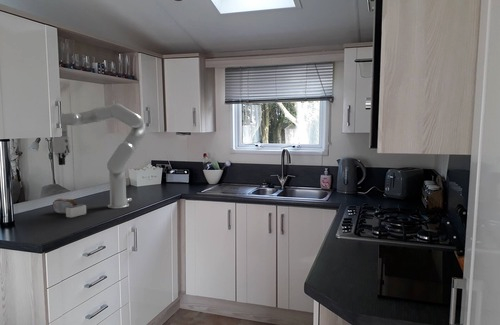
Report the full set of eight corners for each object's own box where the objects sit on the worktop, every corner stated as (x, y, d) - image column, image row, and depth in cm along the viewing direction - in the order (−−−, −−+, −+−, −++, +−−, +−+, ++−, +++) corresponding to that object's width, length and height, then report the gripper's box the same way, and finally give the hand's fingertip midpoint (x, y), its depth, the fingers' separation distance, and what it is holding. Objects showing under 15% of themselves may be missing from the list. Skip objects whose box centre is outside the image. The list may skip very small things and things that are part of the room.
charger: (81, 212, 212) (81, 203, 211) (86, 213, 210) (85, 204, 209) (66, 216, 203) (65, 207, 202) (71, 217, 201) (70, 208, 200)
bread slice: (78, 213, 210) (77, 199, 209) (74, 215, 207) (73, 200, 206) (56, 212, 214) (55, 198, 213) (52, 213, 211) (51, 199, 210)
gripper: (74, 134, 216) (76, 164, 218) (57, 133, 223) (59, 163, 225) (63, 134, 210) (64, 166, 212) (46, 134, 216) (47, 164, 218)
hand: (61, 164), depth 218 cm, fingers closed
